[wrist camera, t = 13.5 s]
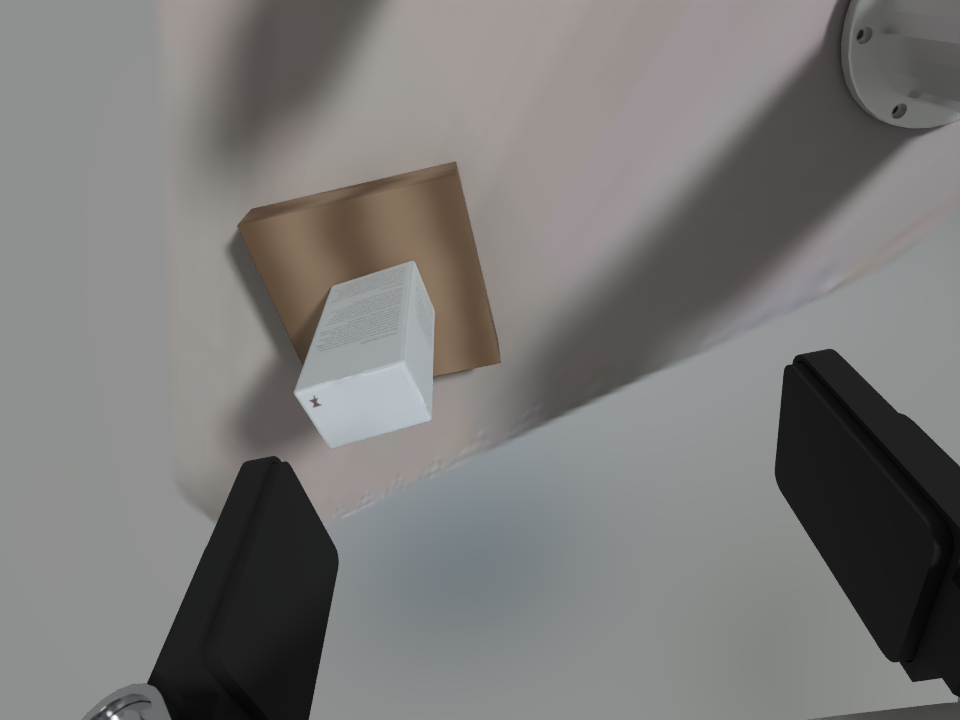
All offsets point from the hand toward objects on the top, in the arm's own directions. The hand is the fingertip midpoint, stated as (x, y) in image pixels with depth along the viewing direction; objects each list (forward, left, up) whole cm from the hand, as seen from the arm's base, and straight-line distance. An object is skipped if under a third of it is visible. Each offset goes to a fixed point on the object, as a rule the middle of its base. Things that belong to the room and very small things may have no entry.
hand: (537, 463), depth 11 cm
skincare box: (+9, +9, -28) cm, 30 cm away
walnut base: (+9, +9, -30) cm, 33 cm away
